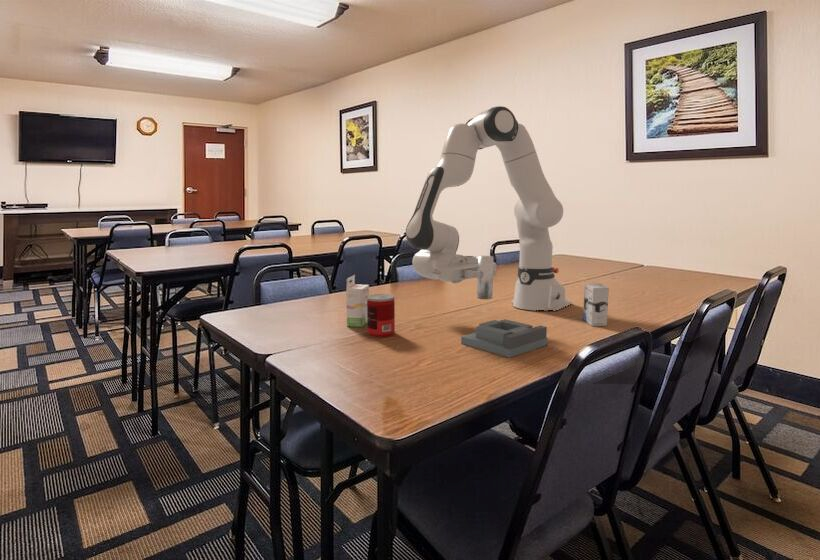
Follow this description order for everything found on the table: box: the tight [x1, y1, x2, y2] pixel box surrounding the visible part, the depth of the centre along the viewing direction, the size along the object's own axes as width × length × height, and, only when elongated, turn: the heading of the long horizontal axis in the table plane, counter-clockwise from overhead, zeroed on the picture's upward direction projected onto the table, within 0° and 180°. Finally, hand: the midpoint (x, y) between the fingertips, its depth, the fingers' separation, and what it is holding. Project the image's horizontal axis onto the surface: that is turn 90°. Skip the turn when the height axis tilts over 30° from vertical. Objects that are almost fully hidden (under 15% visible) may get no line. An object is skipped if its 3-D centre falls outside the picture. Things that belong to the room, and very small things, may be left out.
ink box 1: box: [345, 274, 370, 328], centre depth 157 cm, size 9×5×15 cm, turn 168°
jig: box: [460, 318, 548, 358], centre depth 136 cm, size 16×16×5 cm
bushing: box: [476, 255, 495, 300], centre depth 147 cm, size 4×4×12 cm
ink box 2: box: [582, 282, 610, 327], centre depth 157 cm, size 8×5×12 cm, turn 178°
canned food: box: [367, 293, 396, 338], centre depth 146 cm, size 8×8×11 cm
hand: (487, 273), depth 146 cm, fingers closed on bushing, 4 cm apart
